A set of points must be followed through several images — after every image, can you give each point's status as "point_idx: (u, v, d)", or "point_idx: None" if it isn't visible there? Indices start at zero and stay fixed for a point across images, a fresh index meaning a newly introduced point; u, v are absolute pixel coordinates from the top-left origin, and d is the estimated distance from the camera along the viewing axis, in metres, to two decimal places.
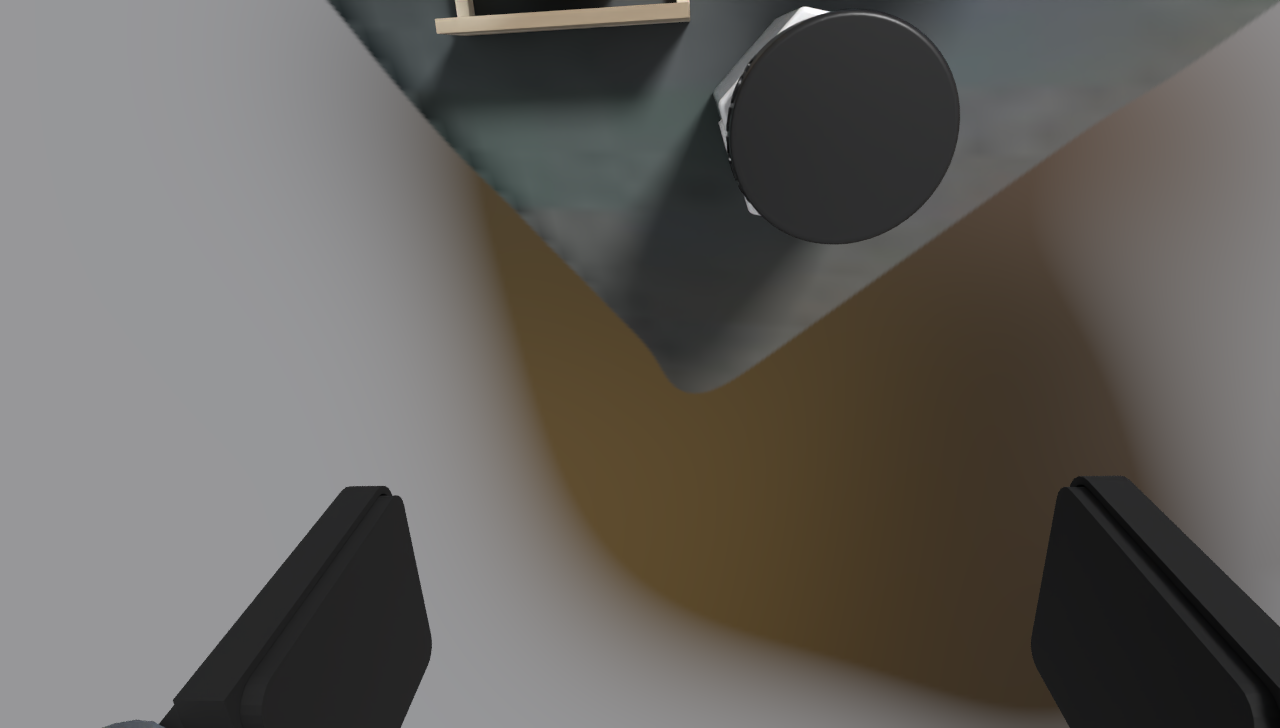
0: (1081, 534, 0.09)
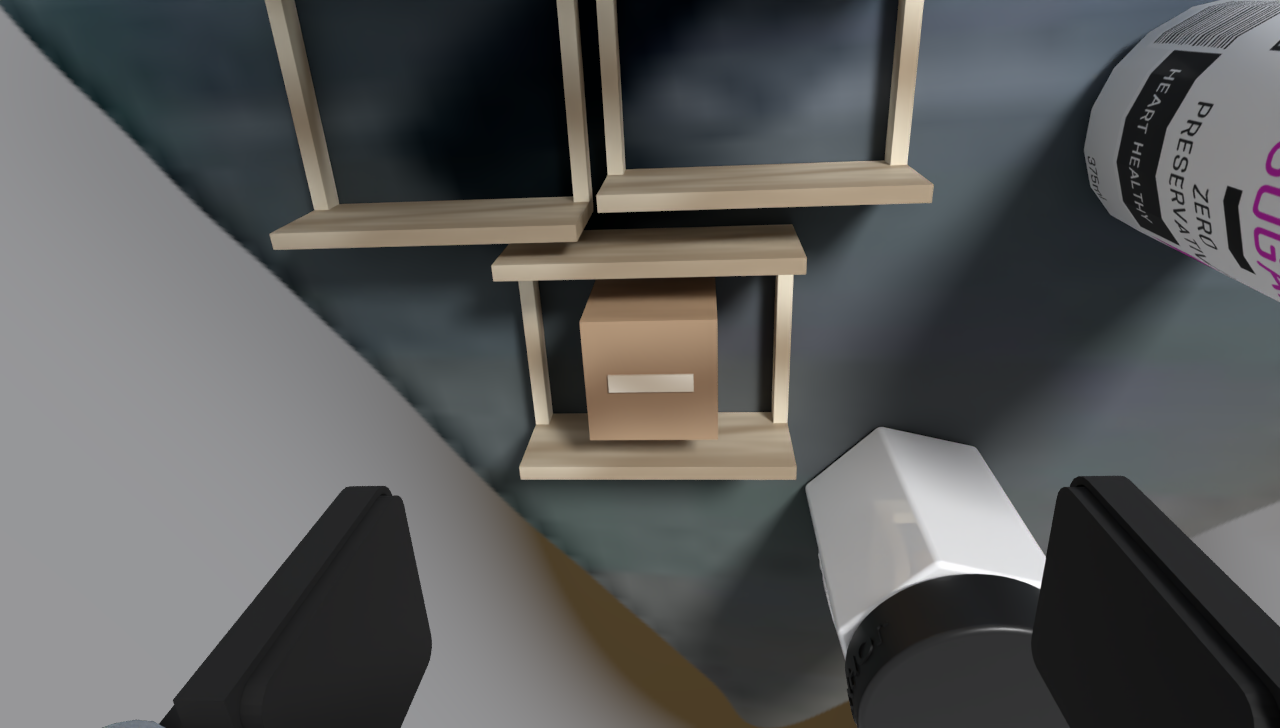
0: (1081, 534, 0.09)
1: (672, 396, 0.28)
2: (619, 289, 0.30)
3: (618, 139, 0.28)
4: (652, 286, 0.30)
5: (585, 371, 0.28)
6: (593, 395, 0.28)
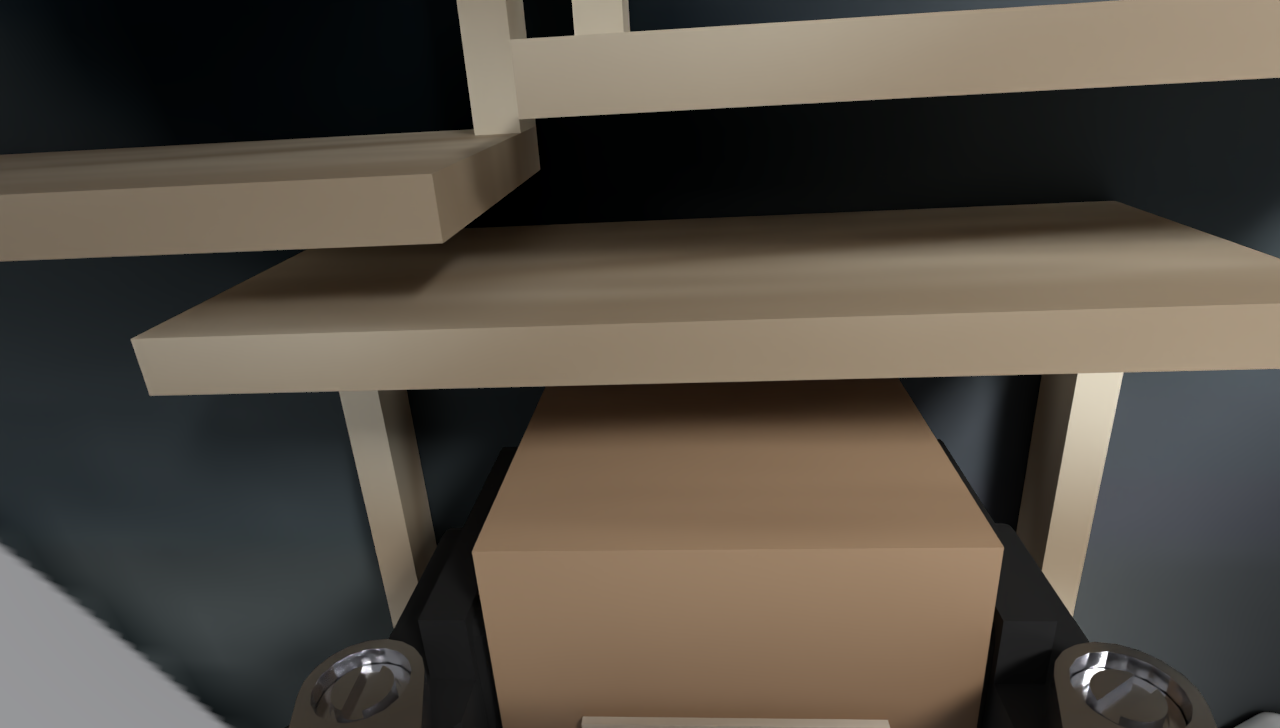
0: None
1: None
2: (621, 399, 0.10)
3: None
4: (714, 387, 0.10)
5: (504, 704, 0.08)
6: None
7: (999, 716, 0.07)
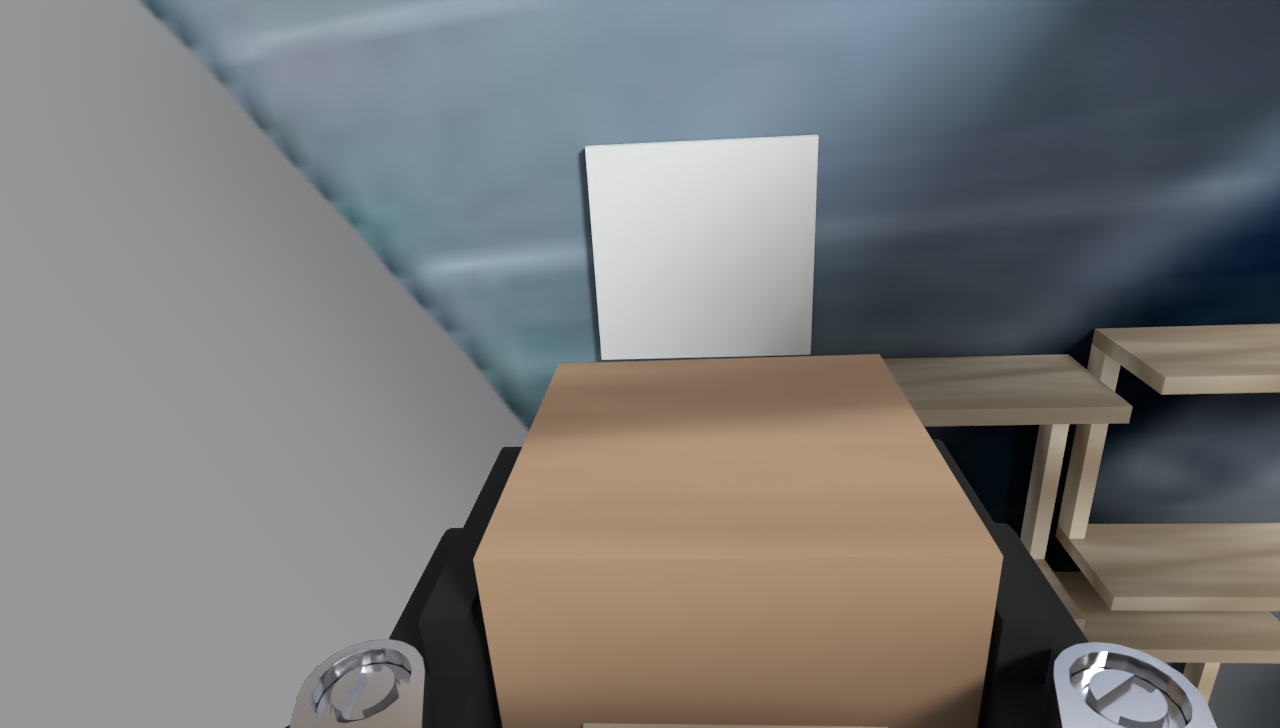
0: None
1: None
2: (621, 405, 0.10)
3: (1087, 511, 0.29)
4: (715, 393, 0.11)
5: (505, 711, 0.08)
6: None
7: (997, 715, 0.07)
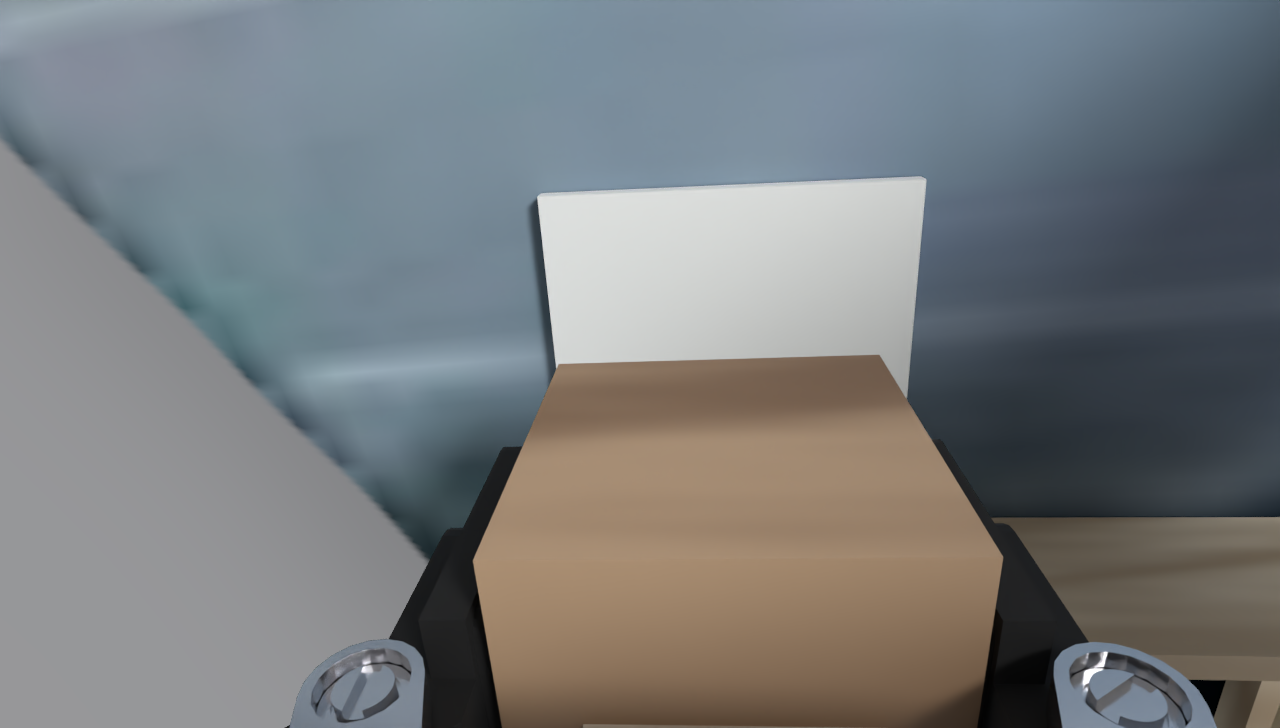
0: None
1: None
2: (621, 405, 0.10)
3: None
4: (715, 393, 0.11)
5: (505, 712, 0.08)
6: None
7: (998, 715, 0.07)
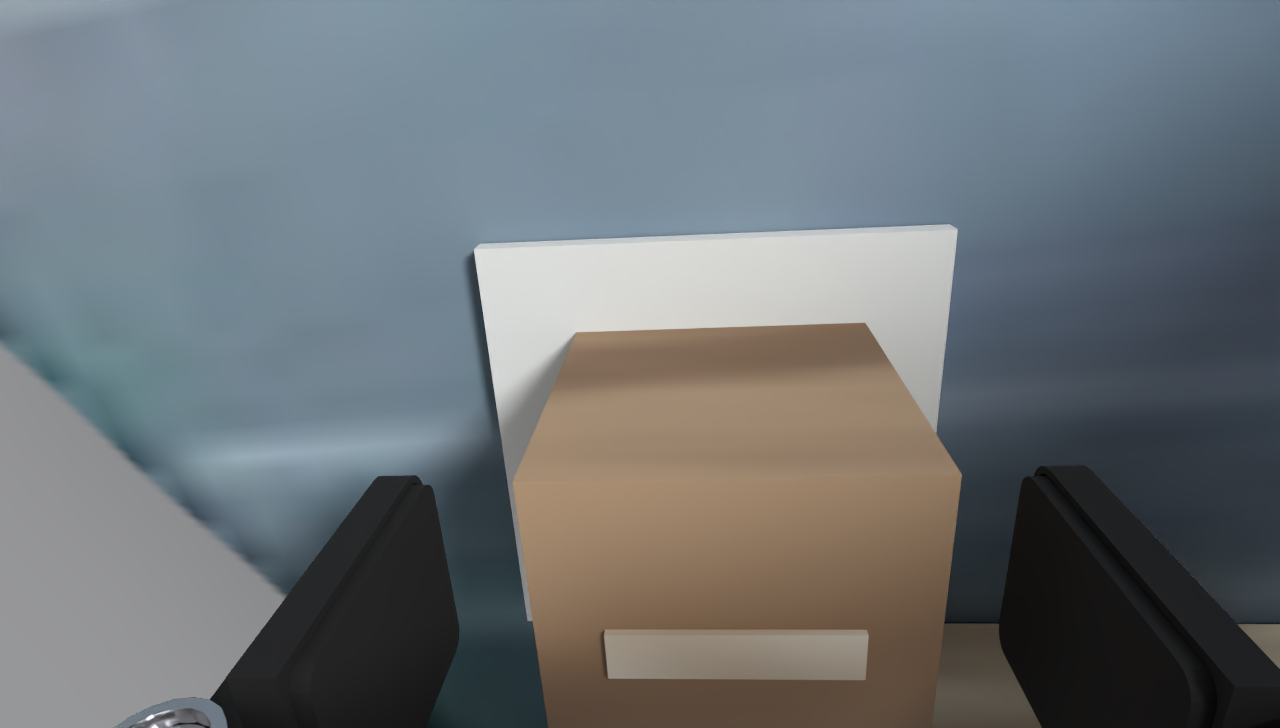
0: (1042, 521, 0.09)
1: (796, 686, 0.09)
2: (634, 365, 0.12)
3: None
4: (717, 354, 0.12)
5: (537, 619, 0.09)
6: (562, 682, 0.10)
7: None
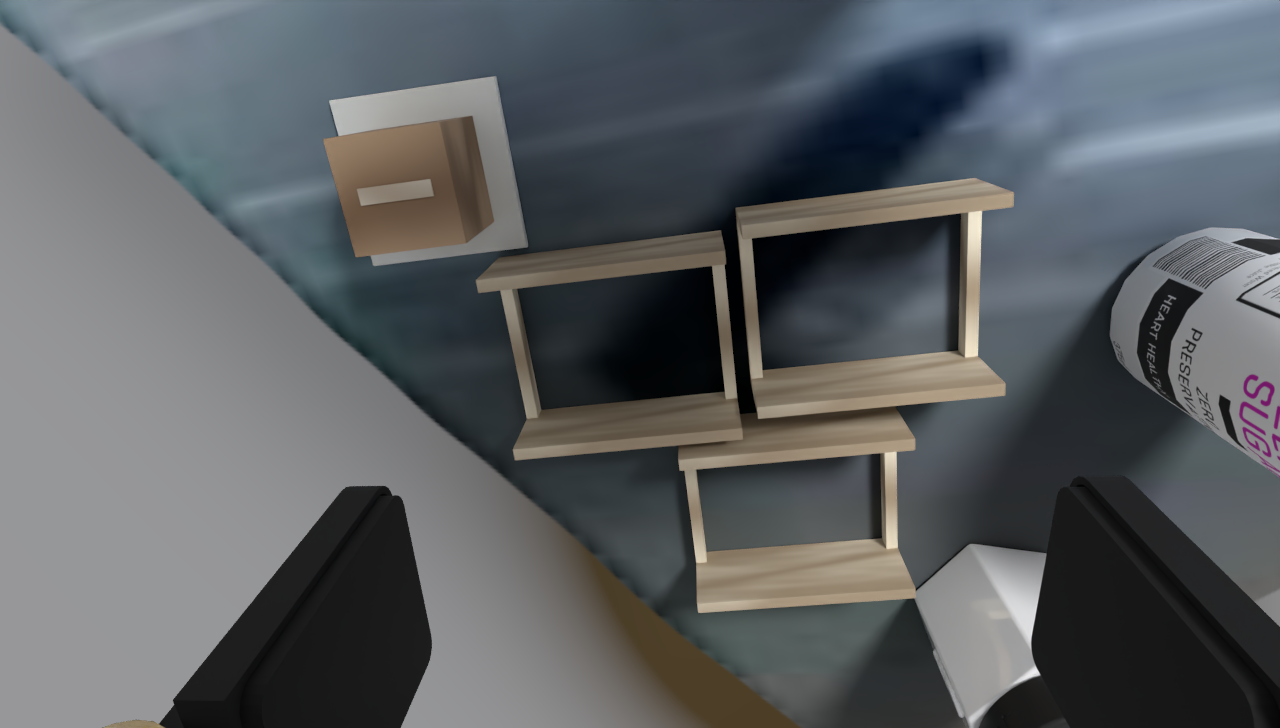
0: (1081, 534, 0.09)
1: (416, 203, 0.31)
2: (381, 129, 0.34)
3: (759, 354, 0.38)
4: None
5: (337, 187, 0.31)
6: (349, 211, 0.32)
7: None
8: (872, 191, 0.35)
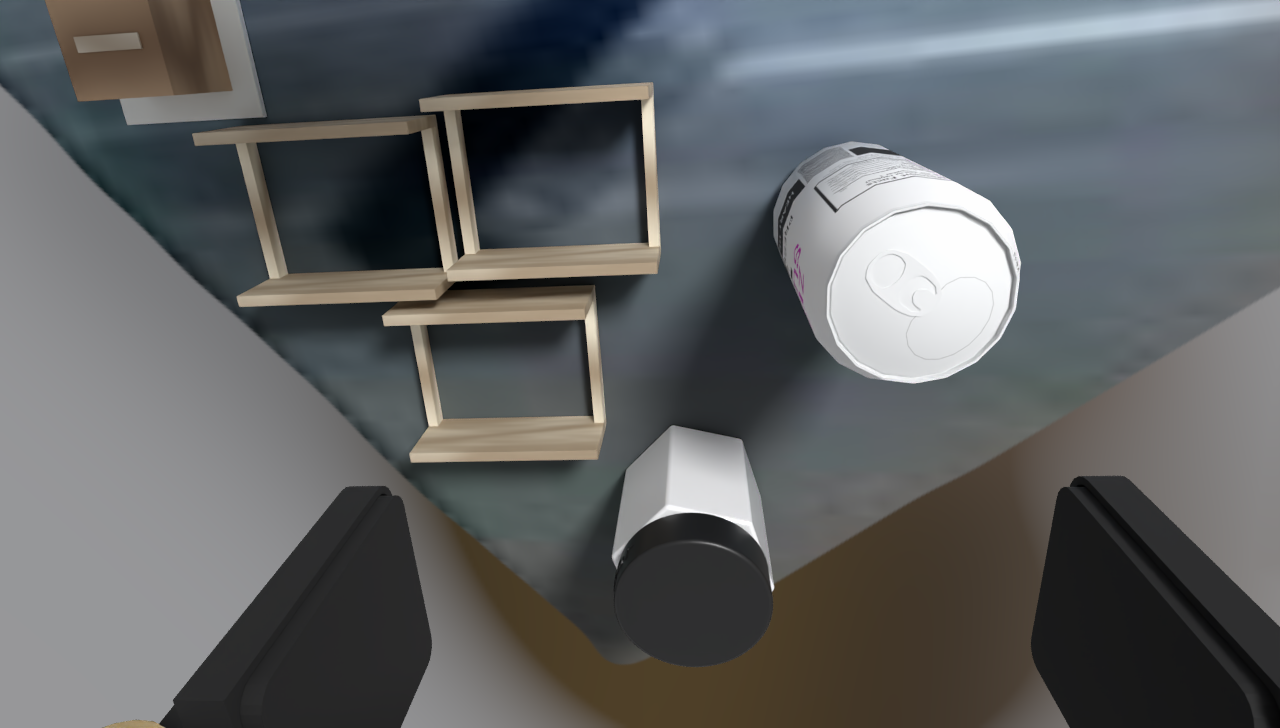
0: (1081, 534, 0.09)
1: (127, 54, 0.36)
2: None
3: (470, 231, 0.42)
4: None
5: (57, 34, 0.35)
6: (69, 57, 0.36)
7: None
8: None
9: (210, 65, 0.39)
